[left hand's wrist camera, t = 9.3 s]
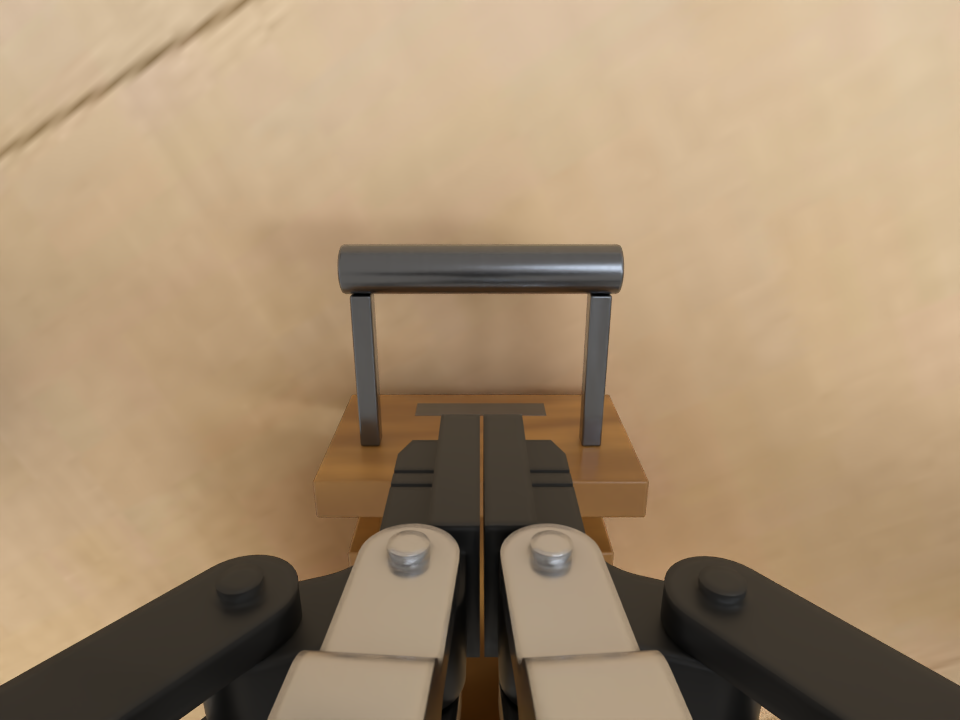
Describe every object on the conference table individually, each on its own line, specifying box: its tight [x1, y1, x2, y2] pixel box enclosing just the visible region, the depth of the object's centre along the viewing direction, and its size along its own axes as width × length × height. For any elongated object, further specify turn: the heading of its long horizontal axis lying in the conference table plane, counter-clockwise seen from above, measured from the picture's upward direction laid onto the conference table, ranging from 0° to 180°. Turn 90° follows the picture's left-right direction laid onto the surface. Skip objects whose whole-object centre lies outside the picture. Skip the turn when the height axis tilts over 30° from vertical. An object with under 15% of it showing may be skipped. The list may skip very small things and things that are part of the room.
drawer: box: [313, 244, 649, 720], centre depth 23 cm, size 24×9×6 cm, turn 0°
